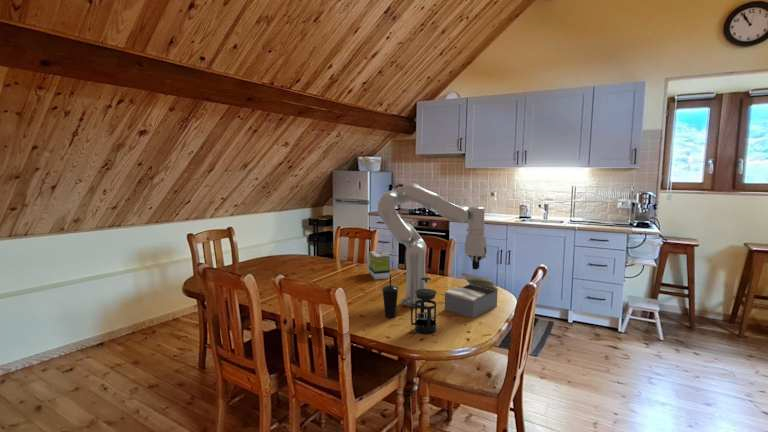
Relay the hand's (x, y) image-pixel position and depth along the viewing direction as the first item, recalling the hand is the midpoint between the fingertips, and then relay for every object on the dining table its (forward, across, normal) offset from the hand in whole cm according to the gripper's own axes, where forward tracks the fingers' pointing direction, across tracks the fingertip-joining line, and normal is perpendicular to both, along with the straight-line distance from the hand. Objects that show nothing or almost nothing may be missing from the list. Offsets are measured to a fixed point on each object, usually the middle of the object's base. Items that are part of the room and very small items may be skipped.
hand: (475, 268), depth 202 cm
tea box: (+19, -74, +4) cm, 76 cm away
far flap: (+8, -1, +4) cm, 9 cm away
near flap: (+11, 0, -8) cm, 14 cm away
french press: (+19, 0, -40) cm, 44 cm away
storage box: (+20, -1, -3) cm, 20 cm away
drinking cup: (+19, -20, -39) cm, 48 cm away
